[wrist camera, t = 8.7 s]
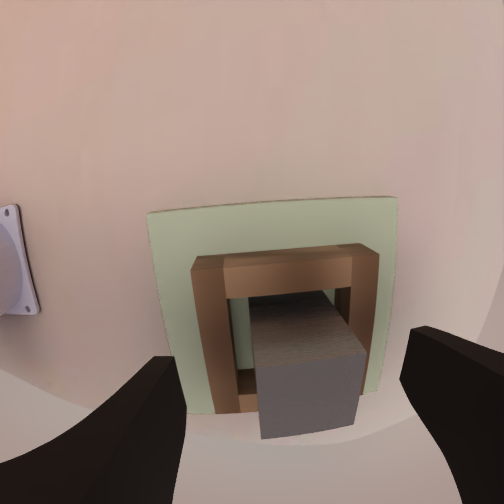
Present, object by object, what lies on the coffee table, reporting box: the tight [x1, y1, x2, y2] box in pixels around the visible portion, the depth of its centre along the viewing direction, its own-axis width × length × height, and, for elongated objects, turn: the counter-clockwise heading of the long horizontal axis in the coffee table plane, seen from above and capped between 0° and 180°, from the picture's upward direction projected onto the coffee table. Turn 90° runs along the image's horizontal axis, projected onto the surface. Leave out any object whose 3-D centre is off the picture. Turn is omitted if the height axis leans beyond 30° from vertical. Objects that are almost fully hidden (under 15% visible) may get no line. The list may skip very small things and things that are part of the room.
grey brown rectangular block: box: [248, 290, 367, 439], centre depth 13 cm, size 4×4×7 cm
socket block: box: [146, 196, 398, 414], centre depth 16 cm, size 14×14×4 cm
